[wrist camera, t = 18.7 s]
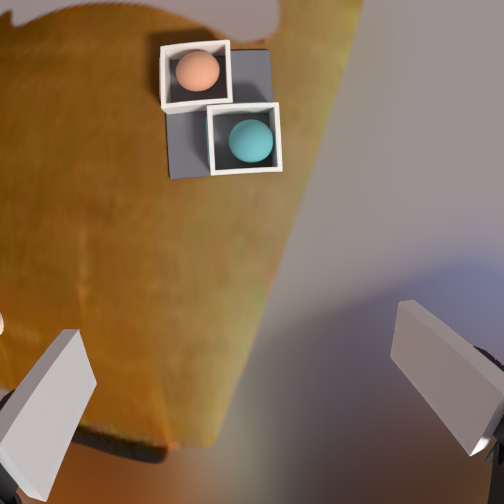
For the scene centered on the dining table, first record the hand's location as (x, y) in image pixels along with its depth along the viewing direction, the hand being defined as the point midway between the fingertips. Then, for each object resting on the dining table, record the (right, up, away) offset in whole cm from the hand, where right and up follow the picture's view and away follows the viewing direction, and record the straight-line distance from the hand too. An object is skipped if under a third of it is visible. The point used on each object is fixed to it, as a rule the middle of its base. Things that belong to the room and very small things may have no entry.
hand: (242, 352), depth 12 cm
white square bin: (-1, +17, +25) cm, 30 cm away
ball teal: (0, +16, +23) cm, 28 cm away
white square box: (-6, +25, +23) cm, 34 cm away
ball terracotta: (-6, +24, +20) cm, 32 cm away
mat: (-3, +21, +24) cm, 32 cm away
